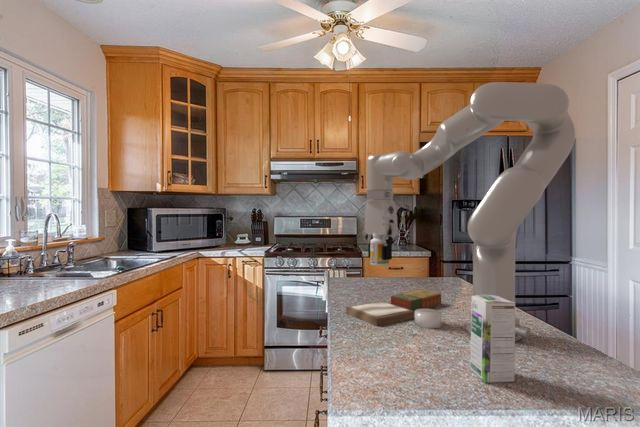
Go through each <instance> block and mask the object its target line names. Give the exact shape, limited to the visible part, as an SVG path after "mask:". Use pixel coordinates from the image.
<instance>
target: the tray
mask: <svg viewBox="0 0 640 427" xmlns="http://www.w3.org/2000/svg"><path fill="white" fill-rule="evenodd" d="M345 308H346V311H345V312H346V315H348V316H351V317H354V318H356V319H358V320H361V321H364V322H365V323H369V324H371V325H373V326H376V327H378V326H383V325H388V324H394V323H398V322H402V321H409V320H411V319H415V312H414V311H412V310H409V309H405V308H402V307H399V306H396V305H393V304H391V302H390V303H389V302H387V301H383V300H382V301H381V300H380V301H375V302H374V301H373V302H369V303H363V304H357V305H351V306H346V307H345Z"/></svg>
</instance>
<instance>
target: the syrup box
mask: <svg viewBox="0 0 640 427" xmlns="http://www.w3.org/2000/svg"><path fill="white" fill-rule="evenodd" d="M470 308H471V309H470V310H471V311H470V313H471V314H470V318H471V320H470V323H471V334H470V371H471V372H473V373H474V374H475V375H476V376H477V377H478V378H479V379H480V380H482V381H483V383H485V384H488V383H489V384H493V383H495V384H496V383H512V382H513V383H514V382H515V376H516V375H515V372H516V371H515V370H516V369H515V364H516V363H515V362H516V361H515V360H516V359H515V358H516V341H515V318H516V301H515V302H511V301H508V300H506V299H504V298H501V297H499V296H494V295H475V296H473V295H471V304H470Z"/></svg>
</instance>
